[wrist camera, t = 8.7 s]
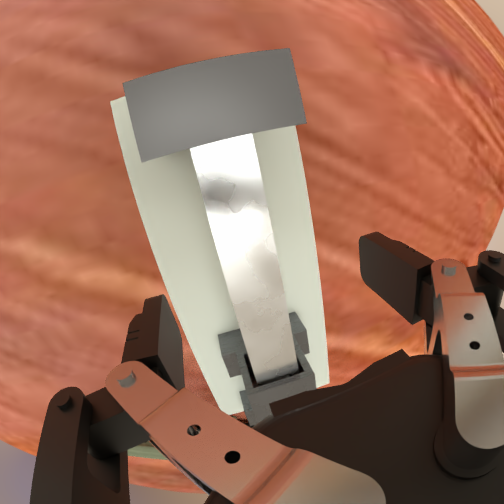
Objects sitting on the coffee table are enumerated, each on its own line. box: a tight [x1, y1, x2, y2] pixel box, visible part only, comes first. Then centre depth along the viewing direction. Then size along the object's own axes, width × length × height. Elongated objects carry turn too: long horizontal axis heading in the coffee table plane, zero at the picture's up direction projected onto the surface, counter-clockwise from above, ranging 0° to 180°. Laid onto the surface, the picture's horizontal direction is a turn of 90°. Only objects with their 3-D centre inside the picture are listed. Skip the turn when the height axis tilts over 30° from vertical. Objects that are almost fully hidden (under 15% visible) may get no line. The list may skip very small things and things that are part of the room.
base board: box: [110, 96, 329, 415], centre depth 28 cm, size 14×36×2 cm, turn 13°
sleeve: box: [218, 312, 316, 426], centre depth 27 cm, size 8×12×9 cm, turn 13°
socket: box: [123, 48, 307, 163], centre depth 17 cm, size 8×4×10 cm, turn 103°
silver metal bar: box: [190, 134, 299, 387], centre depth 20 cm, size 3×24×3 cm, turn 13°
